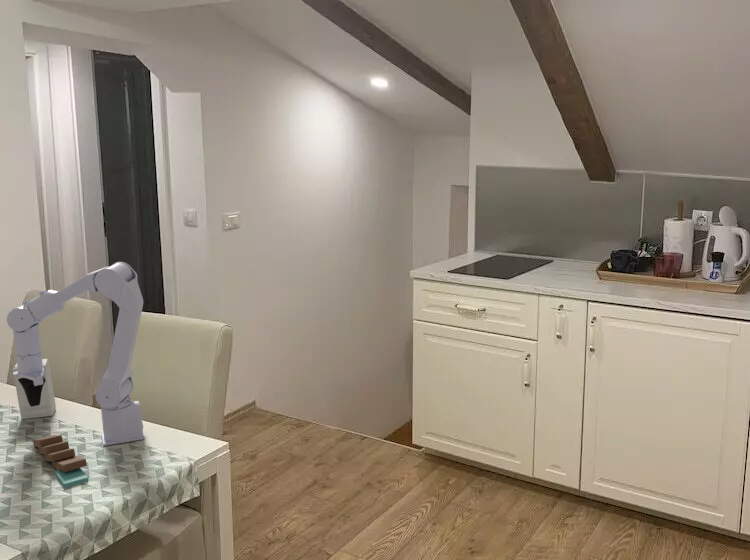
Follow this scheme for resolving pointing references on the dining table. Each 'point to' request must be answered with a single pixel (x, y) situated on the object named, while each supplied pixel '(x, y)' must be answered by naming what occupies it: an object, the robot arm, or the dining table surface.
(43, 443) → the walnut domino
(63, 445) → the walnut domino
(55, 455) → the walnut domino
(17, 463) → the dining table surface
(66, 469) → the walnut domino
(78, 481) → the teal domino
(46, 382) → the skincare box
